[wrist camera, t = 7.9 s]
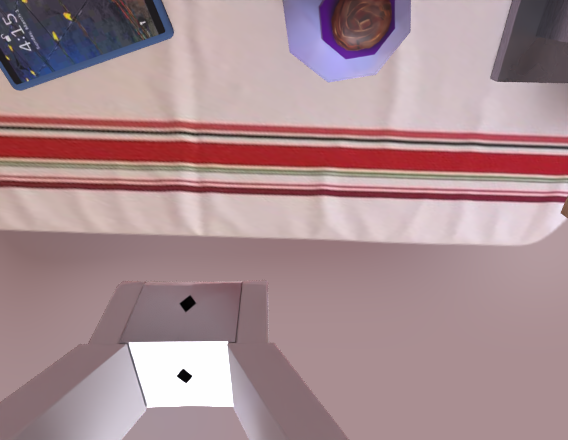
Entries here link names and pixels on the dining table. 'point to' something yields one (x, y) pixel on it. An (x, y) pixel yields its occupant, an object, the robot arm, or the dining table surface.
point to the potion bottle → (346, 34)
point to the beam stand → (534, 43)
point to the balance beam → (565, 208)
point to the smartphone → (73, 35)
